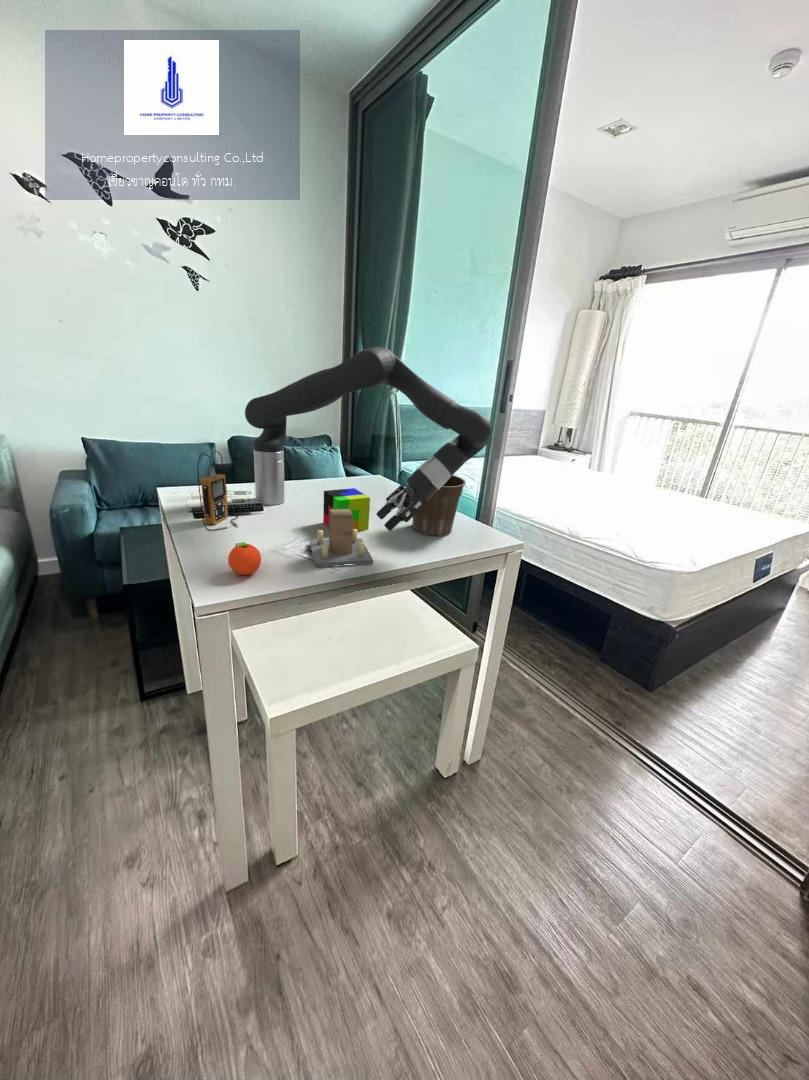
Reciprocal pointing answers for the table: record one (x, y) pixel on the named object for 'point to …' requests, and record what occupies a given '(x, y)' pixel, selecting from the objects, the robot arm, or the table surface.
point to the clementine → (244, 559)
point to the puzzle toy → (348, 506)
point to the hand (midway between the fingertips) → (382, 522)
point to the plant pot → (439, 509)
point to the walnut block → (340, 531)
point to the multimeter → (214, 497)
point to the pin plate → (326, 558)
